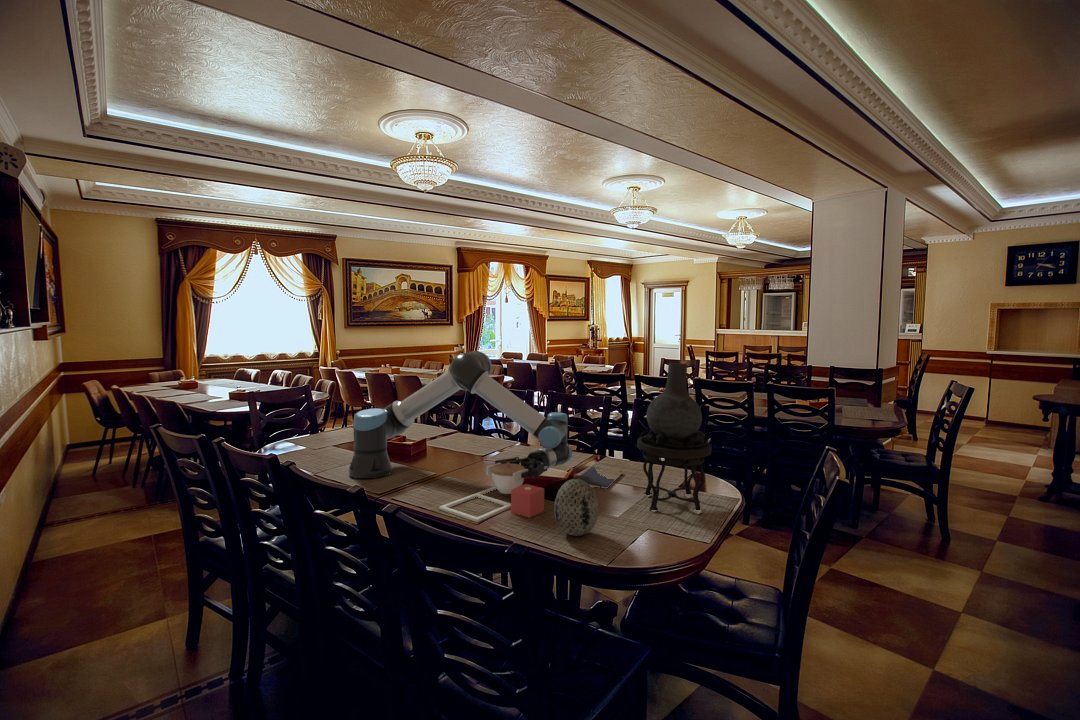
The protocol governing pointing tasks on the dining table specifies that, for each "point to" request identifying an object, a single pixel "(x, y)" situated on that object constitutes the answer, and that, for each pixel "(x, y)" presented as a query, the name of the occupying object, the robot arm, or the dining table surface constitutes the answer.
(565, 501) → the decorative egg
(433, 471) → the dining table surface
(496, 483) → the lidded jar
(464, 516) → the white rectangular frame
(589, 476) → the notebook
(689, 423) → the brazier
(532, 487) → the die
